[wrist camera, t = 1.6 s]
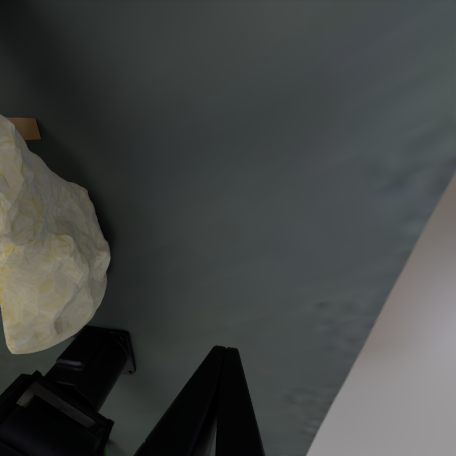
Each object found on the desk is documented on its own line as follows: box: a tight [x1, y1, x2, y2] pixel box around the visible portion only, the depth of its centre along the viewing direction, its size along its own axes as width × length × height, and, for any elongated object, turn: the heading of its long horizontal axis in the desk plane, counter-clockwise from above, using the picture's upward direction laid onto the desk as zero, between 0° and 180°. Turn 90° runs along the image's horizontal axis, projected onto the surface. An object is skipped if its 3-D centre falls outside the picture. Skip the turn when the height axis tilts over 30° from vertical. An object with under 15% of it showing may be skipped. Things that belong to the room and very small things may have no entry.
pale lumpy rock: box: [0, 114, 111, 354], centre depth 19 cm, size 15×7×15 cm
